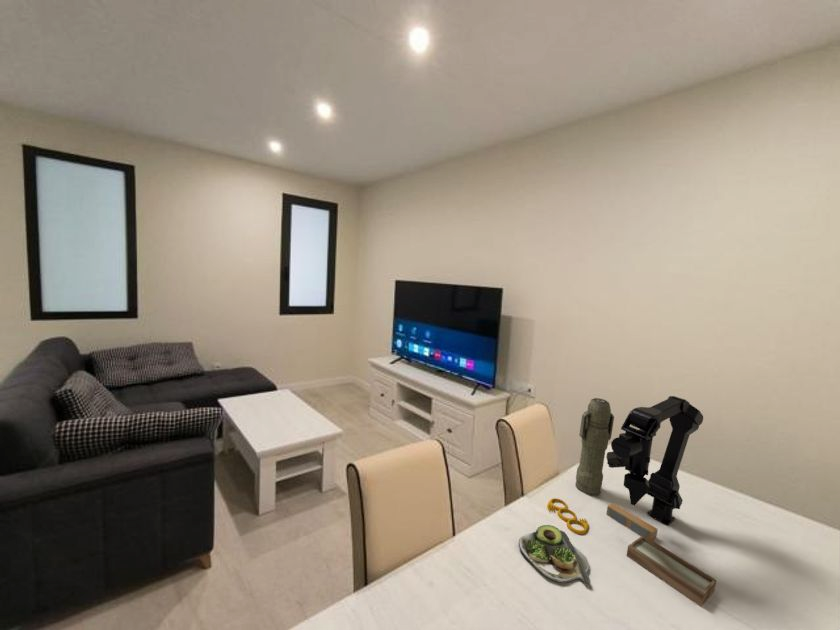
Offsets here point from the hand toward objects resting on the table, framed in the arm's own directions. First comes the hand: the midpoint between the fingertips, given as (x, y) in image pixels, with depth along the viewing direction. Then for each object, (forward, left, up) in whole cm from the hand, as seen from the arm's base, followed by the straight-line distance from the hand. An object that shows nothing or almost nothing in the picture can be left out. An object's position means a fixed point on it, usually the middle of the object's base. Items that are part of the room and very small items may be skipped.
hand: (632, 496), depth 111 cm
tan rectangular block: (-4, -1, -13) cm, 13 cm away
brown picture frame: (+6, +14, -12) cm, 19 cm away
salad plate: (+30, -6, -13) cm, 33 cm away
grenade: (-11, -20, -13) cm, 26 cm away
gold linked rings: (+11, -14, -13) cm, 22 cm away
